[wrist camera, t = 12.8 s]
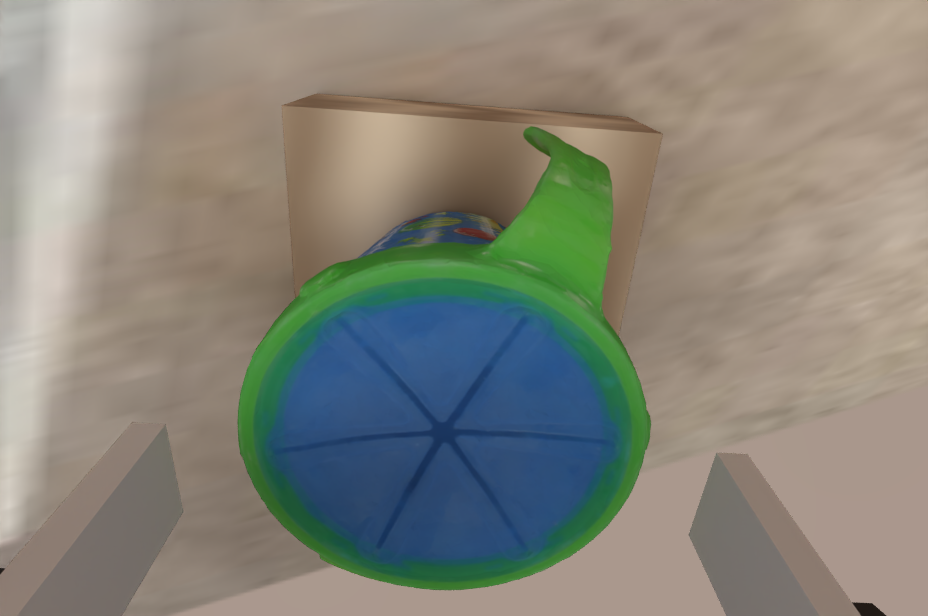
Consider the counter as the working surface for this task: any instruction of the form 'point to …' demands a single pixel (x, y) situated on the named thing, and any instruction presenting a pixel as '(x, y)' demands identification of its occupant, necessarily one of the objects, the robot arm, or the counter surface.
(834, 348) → the counter surface
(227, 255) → the counter surface
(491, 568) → the snack cup
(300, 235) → the maple block
